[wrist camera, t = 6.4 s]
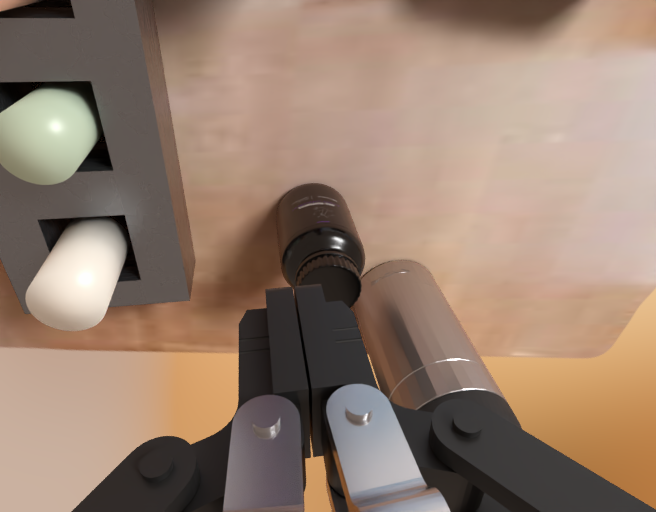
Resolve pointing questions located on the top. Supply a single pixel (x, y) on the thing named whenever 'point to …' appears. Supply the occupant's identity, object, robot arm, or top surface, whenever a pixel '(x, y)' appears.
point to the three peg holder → (99, 146)
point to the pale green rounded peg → (50, 132)
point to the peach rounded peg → (14, 3)
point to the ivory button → (79, 274)
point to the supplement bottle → (320, 242)
